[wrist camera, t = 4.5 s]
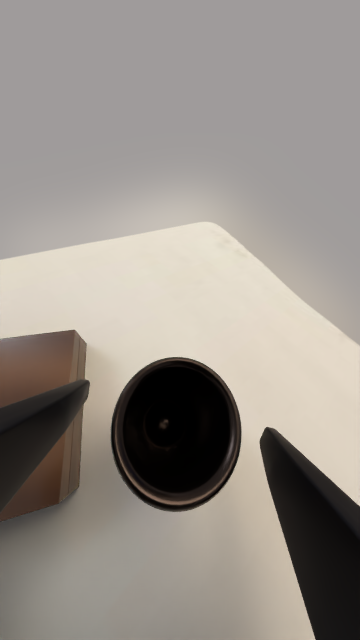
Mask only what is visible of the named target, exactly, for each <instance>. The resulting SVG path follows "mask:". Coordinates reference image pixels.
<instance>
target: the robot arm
mask: <svg viewBox="0 0 360 640" xmlns="http://www.w3.org/2000/svg"><path fill="white" fill-rule="evenodd" d="M89 387H90V382H89V381H88V380H84V379H80V380H77V381H74V382H71V383H68V384H66V385H63V386H60V387H57V388H54V389H52V390H49V391H46V392H43V393H40V394H37V395H35V396H32V397H29V398H26V399H23V400H20V401H18V402H15V403H12V404H9V405H6V406H3V407H1V408H0V513H1V512H2V511H3V509H4V508H5V507H6V506H7V504H8V503H9V502H10V500H11V499H12V498H13V497H14V495H15V494H16V493H17V492H18V490H19V489H20V488H21V487H22V485H23V484H24V483H25V482H26V480H27V479H28V478H29V477H30V475H31V474H32V473H33V472H34V470H35V469H36V468H37V467H38V465H39V464H40V463H41V462H42V460H43V459H44V458H45V457H46V455H47V454H48V453H49V452H50V450H51V449H52V448H53V446H54V445H55V444H56V443H57V441H58V440H59V439H60V438H61V436H62V435H63V434H64V433H65V431H66V430H67V429H68V427H69V426H70V424H71V423H72V421H73V420H74V418H75V417H76V415H77V413H78V412H79V410H80V409H81V407H82V406H83V404H84V403H85V401H86V400H87V398H88V394H89ZM260 449H261V453H262V458H263V463H264V467H265V472H266V476H267V481H268V484H269V488H270V491H271V495H272V498H273V501H274V505H275V508H276V511H277V514H278V518H279V521H280V524H281V528H282V531H283V534H284V537H285V541H286V544H287V547H288V551H289V554H290V557H291V560H292V564H293V567H294V570H295V574H296V577H297V580H298V583H299V587H300V590H301V593H302V597H303V600H304V603H305V607H306V610H307V613H308V616H309V620H310V623H311V626H312V630H313V633H314V636H315V639H316V640H360V506H358V505H357V504H356V503H355V502H354V501H353V500H352V499H351V498H350V497H349V496H348V495H346V494H345V493H344V492H343V491H342V490H341V489H340V488H339V487H338V486H337V485H336V484H334V483H333V482H332V481H331V480H330V479H329V478H328V477H327V476H326V475H325V474H324V473H322V472H321V471H320V470H319V469H318V468H317V467H316V466H315V465H314V464H313V463H312V462H310V461H309V460H308V459H307V458H306V457H305V456H304V455H303V454H302V453H301V452H300V451H298V450H297V449H296V448H295V447H294V446H293V445H292V444H291V443H290V442H289V441H288V440H286V439H285V438H284V437H283V436H282V435H281V434H280V433H279V432H278V431H277V430H275V429H273V428H269V427H266V428H265V429H264V432H263V434H262V436H261V439H260Z"/></svg>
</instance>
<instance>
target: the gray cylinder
mask: <svg viewBox="0 0 360 640" xmlns="http://www.w3.org/2000/svg"><path fill="white" fill-rule="evenodd" d="M111 447H112V453H113V457H114V461H115V464H116V467H117V469H118V472H119V474H120V476H121V478H122V479H123V481H124V482H125V484H126V485H127V487H128V488H129V489H130V490H131V491H132V493H133V494H134V495H136V496H137V497H138V498H139V499H140V500H142V501H143V502H144V503H146V504H148V505H150V506H152V507H154V508H157V509H160V510H164V511H170V512H181V511H187V510H191V509H194V508H197V507H199V506H201V505H203V504H205V503H207V502H208V501H210V500H211V499H212V498H213V497H215V496H216V495H217V494H218V493H219V492H220V491H221V490H222V488H223V487H224V486H225V484H226V483H227V482H228V480H229V478H230V477H231V475H232V473H233V471H234V468H235V466H236V463H237V460H238V457H239V452H240V447H241V421H240V415H239V411H238V407H237V404H236V402H235V399H234V397H233V395H232V393H231V391H230V389H229V388H228V386H227V385H226V383H225V382H224V381H223V380H222V378H221V377H220V376H219V375H218V374H217V373H216V372H214V371H213V370H212V369H211V368H209V367H208V366H206V365H204V364H203V363H200V362H198V361H196V360H193V359H189V358H183V357H170V358H164V359H161V360H158V361H155V362H153V363H151V364H149V365H147V366H145V367H144V368H142V369H141V370H140V371H139V372H137V373H136V374H135V375H134V376H133V377H132V378H131V380H130V381H129V382H128V383H127V385H126V386H125V388H124V389H123V391H122V392H121V394H120V396H119V399H118V401H117V403H116V406H115V409H114V413H113V417H112V424H111Z"/></svg>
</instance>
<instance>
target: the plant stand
mask: <svg viewBox="0 0 360 640" xmlns="http://www.w3.org/2000/svg"><path fill="white" fill-rule="evenodd" d="M85 360H86V343H85V341H84V340H83V339H82V338H81V337H80V335H79V334H78V333H77V332H76V331H75V330H69V331H61V332H52V333H44V334H36V335H28V336H20V337H12V338H4V339H0V408H1V407H3V406H6V405H9V404H12V403H15V402H18V401H20V400H23V399H26V398H29V397H32V396H35V395H37V394H40V393H43V392H46V391H49V390H52V389H54V388H57V387H60V386H63V385H66V384H68V383H71V382H74V381H77V380H80V379H85ZM82 416H83V406H82V407H81V409H80V410H79V412H78V413H77V415H76V417H75V418H74V420H73V421H72V423H71V424H70V426H69V427H68V429H67V430H66V431H65V433H64V434H63V435H62V436H61V438H60V439H59V440H58V441H57V443H56V444H55V445H54V446H53V448H52V449H51V450H50V452H49V453H48V454H47V455H46V457H45V458H44V459H43V460H42V462H41V463H40V464H39V465H38V467H37V468H36V469H35V470H34V472H33V473H32V474H31V475H30V477H29V478H28V479H27V480H26V482H25V483H24V484H23V485H22V487H21V488H20V489H19V490H18V492H17V493H16V494H15V495H14V497H13V498H12V499H11V500H10V502H9V503H8V504H7V506H6V507H5V508H4V509H3V511H2V512H1V513H0V522H1V521H4V520H7V519H11V518H14V517H17V516H20V515H23V514H26V513H30V512H33V511H36V510H39V509H42V508H45V507H49V506H52V505H55V504H58V503H59V502H61V501H62V500H63V499H64V498H66V497H67V496H68V495H69V494H70V493H72V492H73V491H74V490H75V489H77V488H78V487H79V472H80V453H81V435H82Z"/></svg>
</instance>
